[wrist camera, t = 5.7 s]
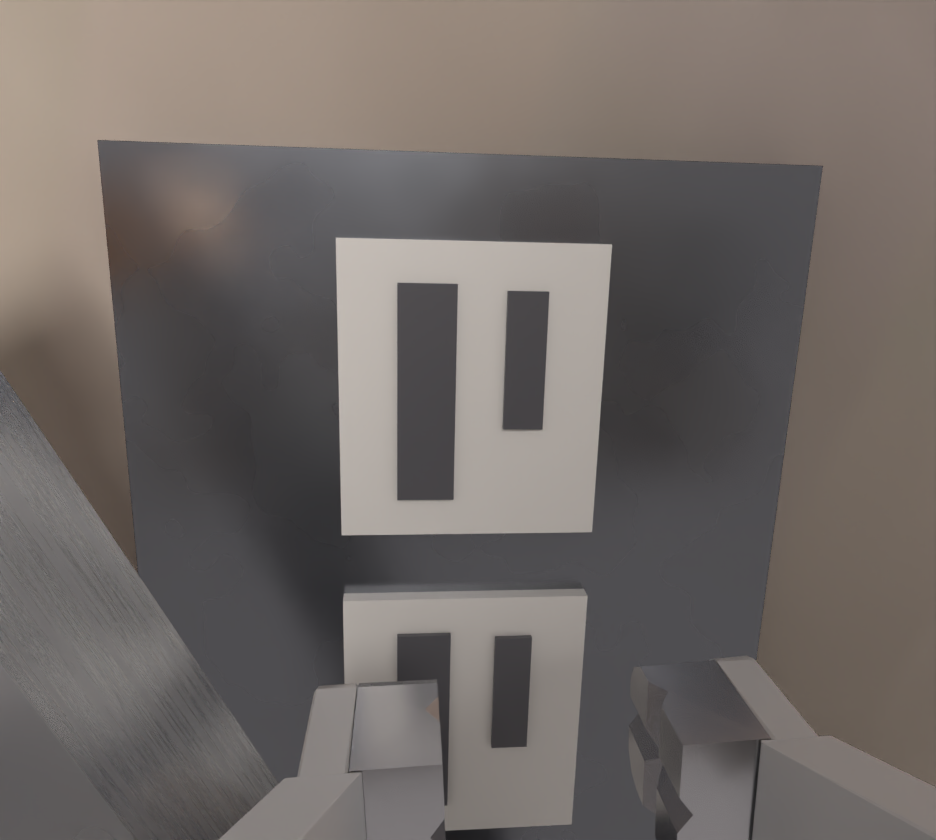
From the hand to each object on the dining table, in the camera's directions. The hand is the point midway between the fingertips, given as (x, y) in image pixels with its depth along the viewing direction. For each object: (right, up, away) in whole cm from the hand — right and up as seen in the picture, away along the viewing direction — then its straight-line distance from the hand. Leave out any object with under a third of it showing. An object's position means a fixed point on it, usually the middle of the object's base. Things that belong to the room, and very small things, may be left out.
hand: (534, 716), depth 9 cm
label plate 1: (-1, +4, +4) cm, 6 cm away
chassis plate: (-1, 0, +6) cm, 6 cm away
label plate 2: (-1, -2, +5) cm, 6 cm away
